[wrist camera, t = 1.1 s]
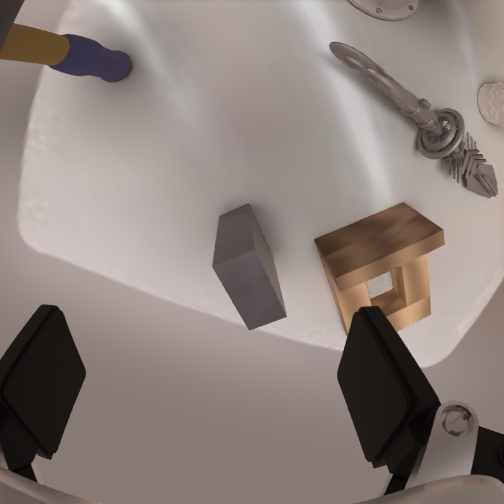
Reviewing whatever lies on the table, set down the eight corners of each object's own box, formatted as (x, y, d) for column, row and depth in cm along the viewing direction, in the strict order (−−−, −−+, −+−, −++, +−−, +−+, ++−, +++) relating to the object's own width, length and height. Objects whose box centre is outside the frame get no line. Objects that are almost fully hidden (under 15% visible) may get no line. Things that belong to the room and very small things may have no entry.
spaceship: (359, 6, 20) (342, 54, 20) (514, 173, 31) (509, 219, 32) (321, 37, 27) (301, 84, 28) (478, 174, 39) (471, 215, 39)
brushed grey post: (248, 203, 37) (254, 249, 25) (272, 256, 40) (286, 316, 29) (219, 216, 38) (212, 266, 26) (245, 267, 41) (249, 330, 29)
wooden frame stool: (403, 202, 38) (443, 229, 29) (417, 297, 45) (445, 334, 36) (314, 239, 40) (335, 278, 31) (344, 330, 47) (363, 374, 38)
